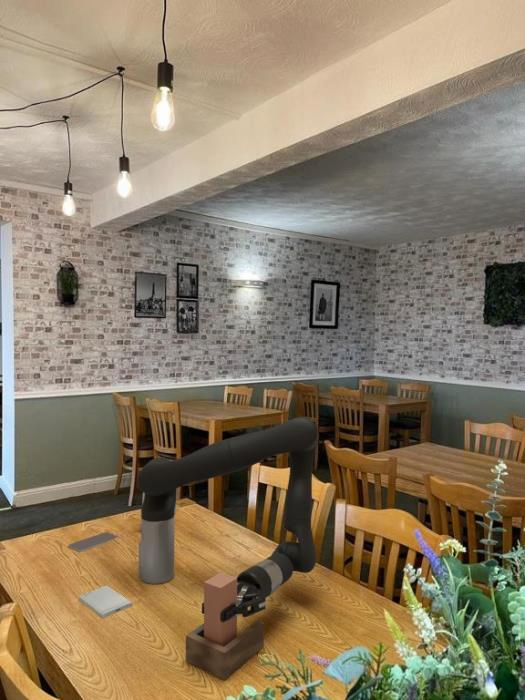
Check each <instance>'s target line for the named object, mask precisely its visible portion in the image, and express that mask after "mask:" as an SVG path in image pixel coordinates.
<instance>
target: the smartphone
mask: <svg viewBox="0 0 525 700" xmlns="http://www.w3.org/2000/svg"><path fill="white" fill-rule="evenodd" d="M115 538H118V539H119V536H118V535H116V534H113V533H110V532H108V531H105V532H101V533H98V534H96V535H92V536H90V537H87V538H84V539H80V540H77V541H75V542H73V543H70V544H68V546H67V547H68V548H69V549H71V550H73V551H74V552H77V553H82V551H84V552H85V550H86V551H88V549H89V550H92V549H94V548H97V547H99V546H98V545H100V546H102V545H104V544H103V543H105V544H107V543H106V542H108V541H110V540H113V539H115ZM113 541H114V540H113ZM110 542H111V541H110ZM108 543H109V542H108ZM101 544H102V545H101ZM96 546H97V547H96ZM93 547H94V548H93ZM91 548H92V549H91Z"/></svg>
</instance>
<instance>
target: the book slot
mask: <svg viewBox="0 0 525 700" xmlns="http://www.w3.org/2000/svg"><path fill="white" fill-rule="evenodd" d="M264 625H265V622H264V621H261V620H257V621H255V622H254V623H253V624H251V625H250V626H249V627H248V628H246V629H245V630H244V631H242V632H241V633H240V634H239V635H237V637H236V638H235V639H233V640H232V641H231V642H230V643H228V644H227V645H226V646H224V647H223V646H221V645H219V644H216V643H214V642H212V641H210V640H207V639H205V638H204V622H203V623H202V624H200V625H199V626H198V627H196V628H195V629H194V630H191V631H190V632H189V633H188V634H185V662H186V663H187V664H188V663H189V664H190V665H192V666H194V667H197V668H199V669H201V670H202V671H205V672H207V673H209V674H210V675H213V676H215V677H217V678H219V679H220V680H223V681H226V680H227V679H229V678H230V677H231V676H232V675H233V674H234V673H235V672H237V671H238V670H240V668H241V667H243V665H245V664H247V662H248V661H249V660H250V658H251V657H252V656H253V657H254V656H255V655H256V654H257V653H256V652H258V653H259V652H260V651H261V650H262V649H263V648H264V643H265V641H264V639H265V631H264V630H265V629H264V628H265V626H264ZM253 657H252V658H253ZM252 658H251V659H252Z"/></svg>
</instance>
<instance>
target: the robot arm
mask: <svg viewBox="0 0 525 700" xmlns="http://www.w3.org/2000/svg"><path fill="white" fill-rule="evenodd" d="M319 433H320V432H319V429H318V427H317V425H316V423H315V422H314V421H313V420H312V419H310V418H307V417H305V416H297V417H294V418H291V419H289V420H287V421H285V422H282V423H280V424H278V425H275V426H272V427H270V428H267V429H264V430H259V431H254V432H250V433H245V434H241V435H237V436H234V437H230V438H226V439H222V440H219V441H216V442H214V443H211V444H209V445H206V446H204V447H202V448H199V449H198V450H195V451H194V452H192V453H190V454H188V455H185V456H183V457H180V458H177V459H173V460H172V459H171V460H170V459H169V458H166V457H161V456H160V457H156V458H153V459H151V460H149V461H148V462H147V463H146V464H145V465H144V466H143V467H142V468H141V470H140V472H139V474H138V477H137V486H138V488H139V490H140V491H141V492H142V494H143V493H145V494H144V501H143V505H141V507H140V509H141V510H140V517H141V519H140V523H141V524H140V533H141V536H140V537H141V538H140V542H138V577H140V579H141V580H142V582H144V583H147V584H152V585H155V584H156V585H157V584H164V583H167V582H170V581H171V580H172V579H173V578H174V577H175V526H176V525H175V516H176V515H175V505H176V506H177V498H176V490H177V491H178V488H181V487H184V486H185V485H188V484H193V483H195V482H200V481H206V480H210V479H214V478H218V477H221V476H226V475H230V474H232V473H235V472H239V471H242V470H245V469H247V468H250V467H253V466H254V465H256V464H258V463H260V462H261V461H264V460H266V459H268V458H270V457H273V456H278V455H282V454H286V453H289V462H290V463H289V475H288V477H289V478H288V482H287V489H286V497H285V505H284V507H285V508H284V510H285V511H284V529H285V530H286V531H288V532H289V533H292V534H294V535H295V536H296V538H297V541H298V542H295V541H283V542H281V543H279V544H278V545H277V546H276V548H274V550H273V552H272V553H271V555H270V556H268V557H267V558H264V560H261V561H258V562H257V563H255V564H253V565H252V566H250V567H248V568H247V569H245V570H244V571H242V572H240V573H238V575H237V576H236V578H237V600H236V601H235V602H234V605H233V604H231V605H230V606H228V607H227V608H225V609H224V610H222V611H221V613H220V621H221V622H225V621H227V620H230V619H231V618H232V617H234V616H237V617H238V616H240V615H242V618H248V617H251V616H252V615H255V614H257V613H260V612H262V611H265V610H267V609H266V606H267V605H266V604H267V603H266V601H267V600H266V599H267V598H269V597H270V596H271V595H272V594H274V593H275V592H276V591H277V590H278V589H279V588H280V587H281V586H283V585H284V584H285V583H287V581H289V580H290V579H291V578H292V577H293V576H292V575H293V573H294V572H297V573H303V574H308V573H310V572H312V571H313V570H314V568H315V566H316V564H317V555H318V554H317V549H316V545H315V540H314V535H313V529H312V505H313V491H312V490H313V489H312V488H313V467H314V461H315V460H314V459H315V456H316V455H315V454H316V449H317V445H318V443H319V438H320V434H319ZM174 515H175V516H174ZM249 607H250V609H249ZM201 614H203V615H204V601H203V602H202V603H201Z"/></svg>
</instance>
